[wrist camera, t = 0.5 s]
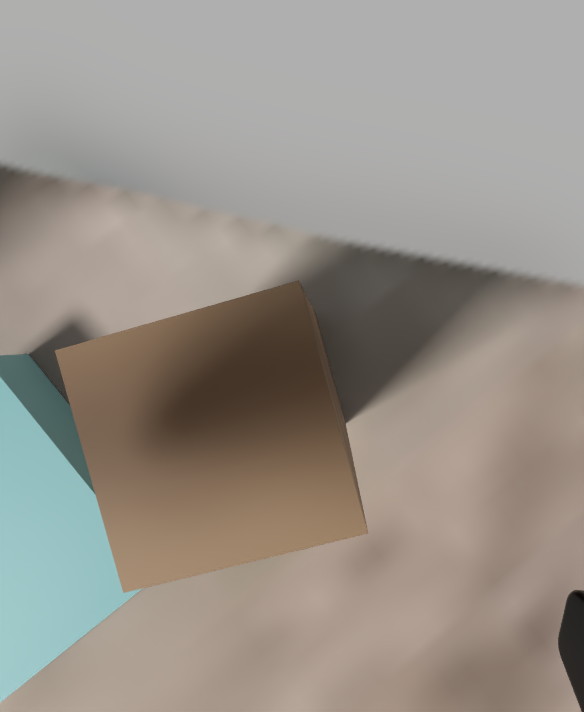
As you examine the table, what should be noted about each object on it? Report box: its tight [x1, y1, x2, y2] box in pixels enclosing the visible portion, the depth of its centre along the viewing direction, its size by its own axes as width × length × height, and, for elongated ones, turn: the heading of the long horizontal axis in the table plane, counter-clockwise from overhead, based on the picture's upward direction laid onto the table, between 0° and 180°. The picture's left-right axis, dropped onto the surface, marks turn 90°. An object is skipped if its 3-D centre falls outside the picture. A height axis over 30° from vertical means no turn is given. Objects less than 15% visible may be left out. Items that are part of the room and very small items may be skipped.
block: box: [55, 281, 368, 593], centre depth 16 cm, size 5×5×12 cm
